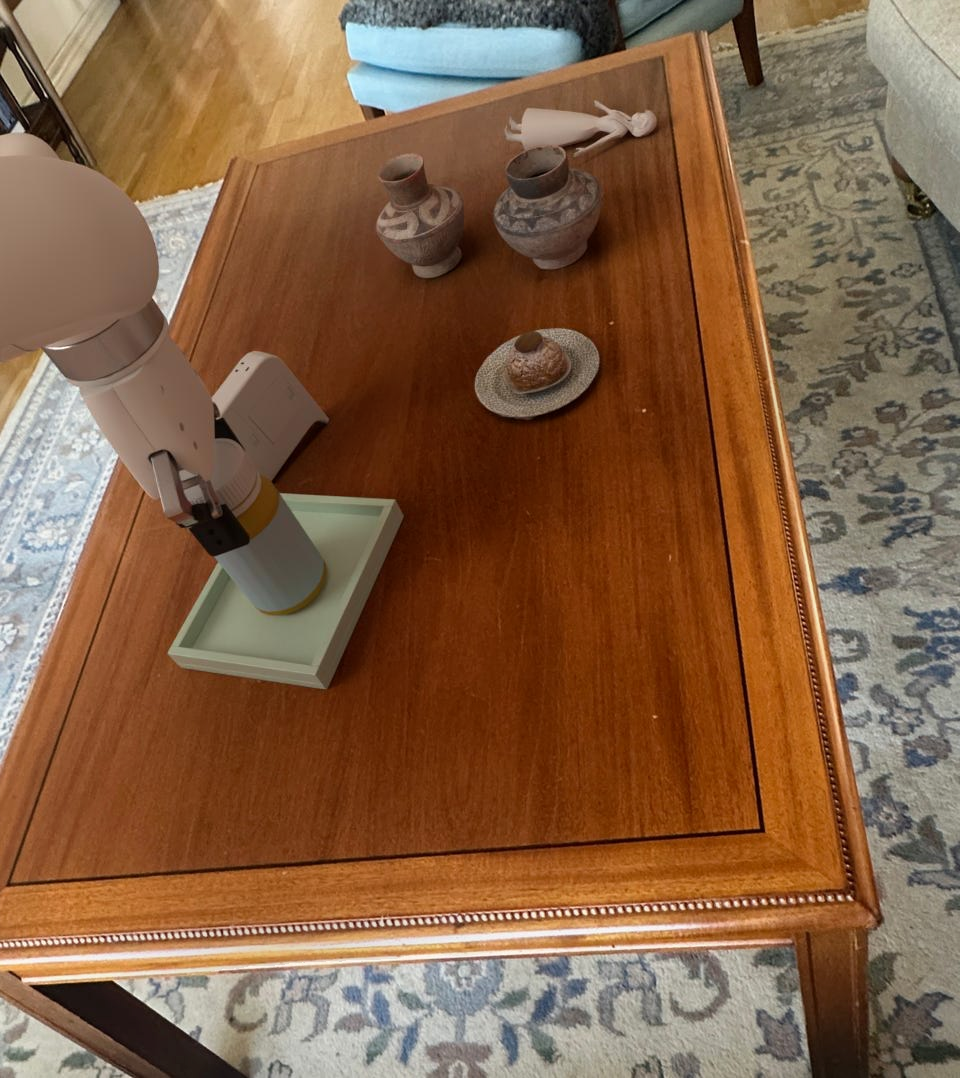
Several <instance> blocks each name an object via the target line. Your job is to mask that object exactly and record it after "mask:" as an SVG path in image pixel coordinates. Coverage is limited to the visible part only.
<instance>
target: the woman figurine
mask: <svg viewBox="0 0 960 1078" xmlns="http://www.w3.org/2000/svg"><path fill="white" fill-rule="evenodd" d="M593 103H594V106H595V107H597V108H598V109H599V110H602V111H604V112H605V113H606V115H604V116H601V117H599V116H596V115H593V114H589V113H584V112H578V111H568V110H561V109H552V108H551V109H550V108H549V109H548V108H535V107H527V108H526V109H525V111H524V112H523V115H522V118H521V123H517V122H516V121H515V120H514V119H513V116H510V117H509V120H508V122H509V125H510V126H511V127H510V129H509V128H508V125H506V126H505V128H504V135H505V136H506V137H505V139H506V141H508V142H515V143H516V142H517V143H522V147H523V151H525V150H527V149H530V148H533V147H537V146H542V145H557V146H559V147H561V148H565V147H568V146H572V145H574V144H578V143H581V142H585V141H587V140H589V139H592V138H593V137H594V136H596V135H597V133H600V132H605V133H608V135H604V136H603V137H601V138H600V139H599V140H597V141H596V142H594V143H592V144H590V145H588V146H586V147H576V148H575V150H576V152H574V153H573V158H579V157H582V156H583V155H584V154H586V153H587V152H589V151H591V150H593V149H595V148H598V147H600V146H602V145H603V144H606V143H608V142H610V141H612V140H615V139H617V138H620V139H621V138H623V137H625V135H626V134H627V133H628V132H630V133H631V134H632V135H633V136H634V137H645V136H648V135H649V134H651V133H652V132H653V131H654V130H655V129H656V127H657V117H656V115H655V114H654V112H653V111H651V109H645V111H644V112H636V113H634V114H633V115H632V116H631V115H628V114H626V113H625V112H623V111H621V110H617V109H614V108H613V109H610V108H609V107H607V106H605V105H603V104H602V103H601V102H600V101H598V100H594V101H593ZM512 131H518V132H519V131H520V132H521V133H513V132H512Z"/></svg>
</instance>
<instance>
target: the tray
mask: <svg viewBox="0 0 960 1078" xmlns="http://www.w3.org/2000/svg"><path fill="white" fill-rule="evenodd" d="M279 493H280V495H281V496H282V498H283V499H284V501H285V502H286V504H287V505H288V507H289V508H290V510H291V511H292V513H293V514H294V516H295V517H296V519H297V520H298V521H299V523H300V524H301V526H302V527H303V529H304V530H305V532H306V533H307V535H308V536H309V538H310V539H311V541H312V542H313V544H314V545H315V547H316V548H317V550H318V551H319V553H320V555H321V556H322V558H323V560H324V562H325V564H326V572H327V573H326V578H325V581H324V584H323V586H322V588H321V590H320V592H319V593H318V595H317V596H316V598H315V599H314V600H313V601H311V602H310V603H309V604H308V605H307V606H305V607H304V608H302V609H301V610H299V611H297V612H293V613H290V614H287V615H276V616H272V615H268V614H264V613H262V612H260V611H259V610H258V609H256V608H255V606H254V605H253V604H252V603H251V602H250V601H249V600H248V598H247V597H246V596H245V595H244V593H243V592H242V591H241V590H240V588H239V587H238V586H237V585H236V583H235V582H234V581H233V580H232V578H231V577H230V576H229V575H228V573H227V572H226V571H225V570H224V568H223V567H222V566H221V565H220V563H219V562H218V561H217V563H216V565H215V567H214V569H213V570H212V572H211V574H210V576H209V578H208V579H207V581H206V583H205V585H204V586H203V588H202V590H201V592H200V594H199V595H198V597H197V599H196V601H195V603H194V604H193V606H192V608H191V610H190V611H189V613H188V615H187V617H186V618H185V621H184V623H183V624H182V626H181V628H180V629H179V631H178V633H177V635H176V637H175V638H174V641H173V642H172V644H171V646H170V648H169V649H168V651H167V654H166V655H168V656H169V657H170V658H171V660H173V661H174V662H175V663H176V664H177V665H178V666H179V668H181V669H187V670H193V671H200V672H207V673H213V674H214V673H215V674H220V675H227V676H234V677H241V678H247V679H252V680H253V679H254V680H260V681H266V682H272V683H273V682H274V683H280V684H287V685H294V686H299V687H300V686H301V687H306V688H313V689H320V690H329V689H328V688H329V687H330V684H331V682H332V680H333V677H334V675H335V673H336V671H337V668H338V666H339V664H340V661H341V660H342V658H343V655H344V653H345V651H346V649H347V646H348V643H349V642H350V639H351V637H352V634H353V632H354V630H355V628H356V625H357V623H358V621H359V619H360V617H361V615H362V612H363V610H364V607H365V605H366V603H367V600H368V598H369V596H370V594H371V591H372V590H373V587H374V585H375V583H376V581H377V579H378V575H379V574H380V571H381V569H382V566H383V565H384V562H385V561H386V558H387V556H388V553H389V551H390V548H391V547H392V545H393V542H394V540H395V537H396V536H397V533H398V531H399V530H400V526H401V524H402V522H403V519H404V517H405V516H404V514H403V512H402V509H401V508H400V505H399V504H398V502H397V500H396V499H394V498H393V499H391V498H373V497H359V496H357V497H356V496H338V495H337V496H335V495H319V494H318V495H317V494H302V493H301V494H300V493H283V492H279Z"/></svg>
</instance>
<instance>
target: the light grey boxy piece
mask: <svg viewBox="0 0 960 1078" xmlns="http://www.w3.org/2000/svg"><path fill="white" fill-rule="evenodd" d="M211 399H212V402H214V403H215V404H216V405H217V407H218V409H219V412H220V417H218V418H216V419H220V418H222V417H223V418H224V419H225V421H226V422H227V424H228V425H229V427H230V428H231V430H232V431H233V432H234V434H235V435H236V437H237V438H238V440H239V441H240V443H241V444H242V446H243V447H244V449H245V453H246V454H247V455H248V457H249V458H250V460H251V461H252V463H253V465H254V467H255V468H256V469H257V471H258V472H259V474H261V475H262V476H264V477H266V478H267V479H269V480H270V481H271V482H273V480H274V479H275V477H276V476H277V474H278V473H279V472H280V470H281V469H282V467H283V466H284V465H285V463H286V462H287V460H288V458H290V456H291V455H292V454H293V452H294V450H295V449H296V448H297V447H298V445H299V443H300V442H301V441H302V439H303V438H304V436H305V435H306V433H308V431H309V430H310V428H311V427H312V426H313V425H314V423H316V422H319V423H323V424H328V423H329V422H330V418H329V417H328V416H327V414H326V413H325V412H324V411H323V409H322V408H321V407H320V406H319V405H318V403H317V402H316V400H315V399H314V398H313V397H312V396H311V395H310V393H309V392H308V391H307V389H306V388H305V387H304V386H303V384H302V383H301V382H300V381H299V379H298V378H297V377H296V375H295V374H294V373H293V372H292V371H291V369H290V368H289V367H288V365H287V364H286V363H285V362H284V361H283V359H281V358H280V357H279V356H277V355H274V354H271V353H268V352H264V351H258V350H253V351H250V352H247V353H246V354H245V355H244V356H243V357H241V358H240V360H239V361H238V362H237V364H236V365H235V367H234V368H233V369H232V370H231V372H230V373H229V374H228V376H227V377H226V378H225V379H224V381H223V383H221V385H220V386H219V387H218V389H217V390H216V392H215V393H214V394H213V395H212V396H211Z"/></svg>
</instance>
